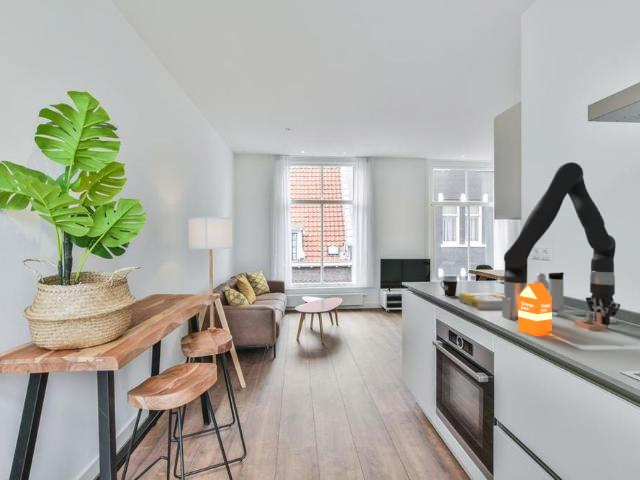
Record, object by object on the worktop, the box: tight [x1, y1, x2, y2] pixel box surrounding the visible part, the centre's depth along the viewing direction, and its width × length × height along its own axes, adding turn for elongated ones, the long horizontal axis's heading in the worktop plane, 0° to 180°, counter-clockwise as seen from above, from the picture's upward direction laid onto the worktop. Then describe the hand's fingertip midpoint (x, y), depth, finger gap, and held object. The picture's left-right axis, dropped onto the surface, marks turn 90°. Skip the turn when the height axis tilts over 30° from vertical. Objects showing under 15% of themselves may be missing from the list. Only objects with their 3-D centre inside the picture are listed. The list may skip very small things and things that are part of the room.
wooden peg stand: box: [568, 312, 612, 332], centre depth 127 cm, size 10×10×7 cm
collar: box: [573, 312, 609, 330], centre depth 127 cm, size 10×7×6 cm
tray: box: [556, 310, 617, 324], centre depth 140 cm, size 15×15×3 cm
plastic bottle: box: [533, 273, 549, 291], centre depth 154 cm, size 6×7×20 cm
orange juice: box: [517, 282, 553, 337], centre depth 125 cm, size 8×9×20 cm
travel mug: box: [547, 272, 565, 313], centre depth 160 cm, size 6×7×20 cm
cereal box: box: [458, 292, 504, 310], centre depth 175 cm, size 20×6×28 cm
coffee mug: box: [440, 279, 458, 297], centre depth 204 cm, size 12×9×10 cm
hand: (602, 324), depth 127 cm, fingers open, 2 cm apart
